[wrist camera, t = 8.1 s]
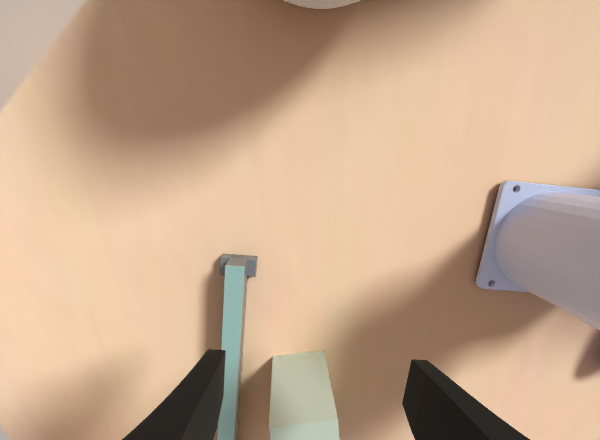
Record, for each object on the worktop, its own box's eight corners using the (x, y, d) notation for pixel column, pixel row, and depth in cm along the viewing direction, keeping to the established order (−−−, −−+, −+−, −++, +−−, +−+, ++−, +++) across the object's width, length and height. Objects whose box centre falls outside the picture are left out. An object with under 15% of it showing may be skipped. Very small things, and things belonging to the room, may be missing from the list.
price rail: (257, 256, 20) (254, 268, 18) (243, 457, 24) (239, 487, 22) (223, 253, 20) (215, 265, 18) (214, 456, 23) (207, 487, 21)
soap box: (329, 422, 23) (344, 509, 18) (282, 428, 23) (281, 518, 17) (323, 349, 22) (338, 419, 16) (272, 355, 22) (268, 428, 16)
